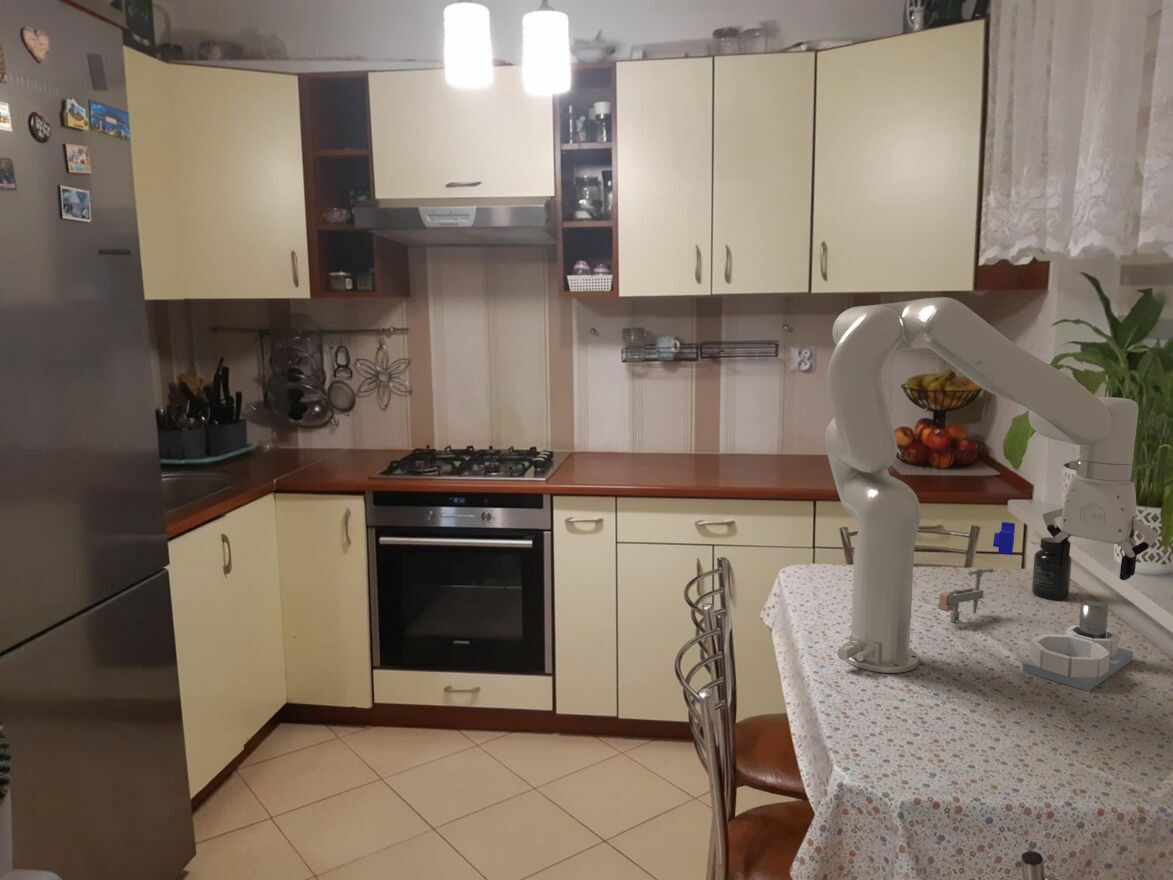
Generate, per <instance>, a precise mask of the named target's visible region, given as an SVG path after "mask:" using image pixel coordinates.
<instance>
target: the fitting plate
mask: <svg viewBox="0 0 1173 880" xmlns="http://www.w3.org/2000/svg"><path fill="white" fill-rule="evenodd" d="M1065 630H1066V631H1065V634H1049V633H1048V634H1039V635H1037V636H1036V637H1033V638H1032V639H1030V645H1029V658H1028V659H1027V660H1025V661H1023V662H1022V672H1024V673H1027V674H1030V675H1033V676H1036V677H1041V678H1043V679H1047V680H1050V681H1053V682H1056V683H1059V684H1062V685H1067V686H1068V687H1069V686H1070V687H1073V688H1076V689H1078V690H1079V689H1080V690H1083V691H1086V692H1090V691H1091V690H1093V689H1094V688H1096V687H1097V686H1098V685H1100V684H1101V683H1102V682H1104V681H1105V680H1107V679H1109V678H1110V677H1111V676H1112V675H1113V674H1115V673H1116V672H1118V671H1120V670H1121V669H1122V668H1123V667H1125V666H1126V665H1127V664H1129V663H1131V662H1132V661H1133V660H1134V651H1133V650H1131V649H1130V650H1129V649H1126V648H1122V647H1119V639H1120V638H1119V635H1118V634H1116V633H1115V632H1113V630H1109V628H1107V631H1106V639H1093V638H1089V637H1085V636H1081V635H1079V624H1074V625H1073V624H1072V625H1070V626H1068V627H1066V629H1065Z"/></svg>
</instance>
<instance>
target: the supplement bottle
mask: <svg viewBox="0 0 1173 880" xmlns="http://www.w3.org/2000/svg"><path fill="white" fill-rule="evenodd" d="M1056 543H1057V542H1055V541H1054V537H1052V536H1051V537H1050V536H1049V537H1046V536H1045V537H1041V538H1040V545H1039V547H1040V549H1039V550H1037V551H1036V552H1035V553H1034V557H1033V570H1032V572H1033V573H1032V582H1031V584H1032V585H1031V592H1032V594H1033V595H1034V596H1036V597H1037V598H1041V599H1044V600H1048V601H1064V600H1065V601H1066V600H1068V598H1069V597H1070V586H1071V574H1072V557H1071V556H1070V554H1069V562H1068V564H1065V565H1063V566H1057V559H1055V553H1056Z"/></svg>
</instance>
